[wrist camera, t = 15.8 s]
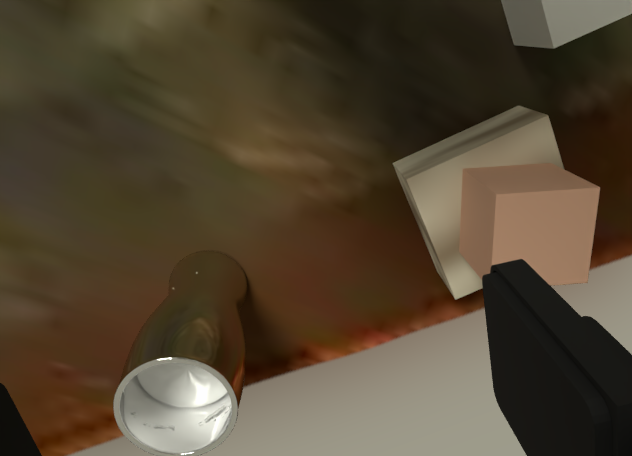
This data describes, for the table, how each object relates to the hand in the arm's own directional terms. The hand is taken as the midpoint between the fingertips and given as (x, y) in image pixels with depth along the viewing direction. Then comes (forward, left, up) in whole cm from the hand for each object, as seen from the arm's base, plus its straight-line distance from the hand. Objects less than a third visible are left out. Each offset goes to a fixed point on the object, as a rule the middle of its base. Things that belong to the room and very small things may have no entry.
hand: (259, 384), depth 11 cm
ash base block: (+8, +14, -31) cm, 35 cm away
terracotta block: (+8, +15, -26) cm, 31 cm away
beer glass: (+12, -7, -31) cm, 34 cm away
